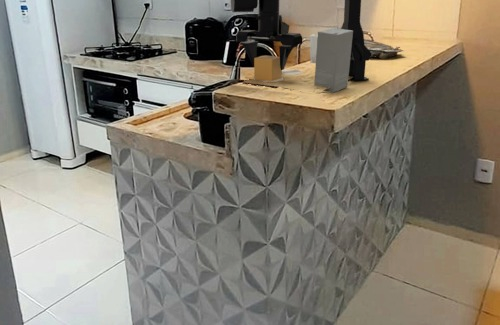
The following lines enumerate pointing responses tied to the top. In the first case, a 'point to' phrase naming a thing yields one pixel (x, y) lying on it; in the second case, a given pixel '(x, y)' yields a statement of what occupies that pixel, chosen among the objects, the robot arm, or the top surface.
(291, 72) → the board
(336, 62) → the skincare box
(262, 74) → the tan wooden cube
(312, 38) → the white cup
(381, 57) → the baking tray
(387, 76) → the top surface
